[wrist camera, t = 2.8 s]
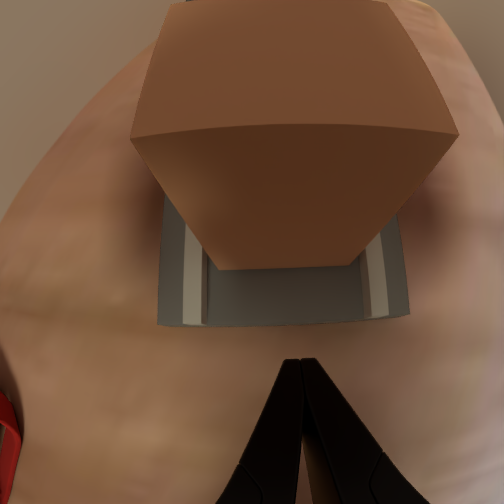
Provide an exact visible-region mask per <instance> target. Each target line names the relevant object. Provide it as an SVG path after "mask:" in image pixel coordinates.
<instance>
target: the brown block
mask: <svg viewBox="0 0 504 504" xmlns="http://www.w3.org/2000/svg"><path fill="white" fill-rule="evenodd" d="M458 136H459V133H458V130H457V128H456V125H455V123H454V121H453V118H452V116H451V114H450V112H449V109H448V107H447V105H446V103H445V101H444V99H443V97H442V94H441V92H440V90H439V88H438V86H437V84H436V82H435V81H434V79H433V77H432V75H431V73H430V71H429V69H428V67H427V66H426V64H425V62H424V60H423V59H422V57H421V55H420V53H419V52H418V50H417V48H416V47H415V45H414V43H413V42H412V40H411V38H410V37H409V35H408V34H407V32H406V31H405V29H404V28H403V26H402V25H401V23H400V22H399V20H398V19H397V17H396V16H395V14H394V13H393V11H392V10H391V9H390V7H389V6H388V4H387V3H384V2H378V1H372V0H194V1H187V2H182V3H176V4H171V5H170V8H169V10H168V13H167V15H166V18H165V21H164V23H163V26H162V29H161V31H160V34H159V37H158V40H157V43H156V46H155V49H154V52H153V55H152V58H151V61H150V64H149V67H148V70H147V74H146V77H145V80H144V84H143V87H142V91H141V95H140V98H139V102H138V106H137V110H136V114H135V118H134V122H133V126H132V130H131V134H130V140H131V141H132V143H133V145H134V146H135V148H136V149H137V151H138V152H139V154H140V155H141V157H142V158H143V160H144V161H145V163H146V164H147V166H148V168H149V169H150V171H151V172H152V174H153V175H154V177H155V178H156V180H157V181H158V183H159V184H160V186H161V187H162V189H163V190H164V192H165V193H166V195H167V196H168V198H169V199H170V200H171V202H172V203H173V205H174V206H175V208H176V209H177V211H178V212H179V214H180V215H181V217H182V218H183V220H184V221H185V222H186V224H187V225H188V227H189V228H190V230H191V231H192V233H193V234H194V235H195V237H196V238H197V240H198V241H199V243H200V244H201V246H202V247H203V248H204V250H205V251H206V253H207V254H208V256H209V257H210V258H211V260H212V261H213V263H214V264H215V265H216V267H217V268H218V270H246V269H274V268H301V267H325V266H347V265H350V264H351V263H352V261H353V260H354V259H355V258H356V257H357V256H358V255H359V254H360V253H361V252H362V251H363V250H364V249H365V247H366V246H367V245H368V244H369V243H370V242H371V241H372V240H373V239H374V238H375V236H376V235H377V234H378V233H379V232H380V231H381V230H382V229H383V228H384V226H385V225H386V224H387V223H388V222H389V221H390V220H391V218H392V217H393V216H394V215H395V214H396V213H397V212H398V210H399V209H400V208H401V207H402V206H403V205H404V203H405V202H406V201H407V200H408V199H409V198H410V196H411V195H412V194H413V193H414V192H415V190H416V189H417V188H418V187H419V186H420V184H421V183H422V182H423V181H424V180H425V178H426V177H427V176H428V175H429V173H430V172H431V171H432V170H433V168H434V167H435V166H436V165H437V163H438V162H439V161H440V160H441V158H442V157H443V156H444V154H445V153H446V152H447V151H448V149H449V148H450V147H451V145H452V144H453V143H454V142H455V140H456V139H457V138H458Z"/></svg>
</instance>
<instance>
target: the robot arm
mask: <svg viewBox="0 0 504 504" xmlns="http://www.w3.org/2000/svg"><path fill="white" fill-rule="evenodd" d="M301 443H303V448H304V454H305V460H306V465H307V471H308V477H309V483H310V488H311V494H312V500H313V504H430V503H429V502H428V501H427V500H426V499H425V498H424V497H423V496H422V495H421V494H420V493H419V492H418V491H417V490H416V489H415V488H414V487H413V486H412V485H411V484H410V483H409V482H408V481H407V480H406V479H405V477H404V476H403V475H402V474H401V473H400V471H399V470H398V469H397V468H396V466H395V465H394V464H393V463H392V461H391V460H390V459H389V457H388V456H387V455H386V453H385V452H383V449H382V448H381V447H380V445H379V444H378V443H377V441H376V440H375V439H374V437H373V436H372V434H371V433H370V432H369V430H368V429H367V428H366V426H365V425H364V424H363V422H362V421H361V420H360V418H359V417H358V415H357V414H356V413H355V411H354V410H353V409H352V407H351V406H350V404H349V403H348V402H347V400H346V399H345V398H344V396H343V395H342V394H341V392H340V391H339V389H338V388H337V387H336V385H335V384H334V383H333V381H332V380H331V378H330V377H329V376H328V374H327V373H326V371H325V370H324V369H323V367H322V366H321V365H320V363H319V362H318V360H317V359H315V358H302V359H301V360H299V359H285V360H284V361H283V363H282V366H281V368H280V371H279V373H278V376H277V378H276V380H275V383H274V385H273V387H272V390H271V392H270V395H269V397H268V399H267V401H266V404H265V406H264V408H263V411H262V413H261V415H260V417H259V420H258V422H257V424H256V426H255V429H254V431H253V433H252V435H251V437H250V439H249V442H248V444H247V446H246V448H245V450H244V452H243V454H242V456H241V459H240V461H239V464H238V465H237V466H236V469H235V471H234V473H233V475H232V477H231V478H230V480H229V482H228V484H227V486H226V488H225V489H224V491H223V493H222V494H221V496H220V497H219V499H218V500H217V502H216V503H215V504H295V500H296V492H297V483H298V474H299V464H300V454H301Z"/></svg>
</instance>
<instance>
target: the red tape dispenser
mask: <svg viewBox="0 0 504 504" xmlns="http://www.w3.org/2000/svg"><path fill="white" fill-rule="evenodd" d="M0 423H1V424H2V425H4V426H5V427H6V429H5V434H4V439H3V444H2V449H1V455H0V504H7V503H8V499H9V496H10V492H11V487H12V483H13V478H14V474H15V469H16V465H17V461H18V457H19V453H20V449H21V436H20V433H19V429H18V425H17V421H16V417H15V413H14V409H13V406H12V404H11V402H10V401H9V400H8V399H7V397H6V396H5V395H4V394H3V393H2V392H0Z"/></svg>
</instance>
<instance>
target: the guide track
mask: <svg viewBox="0 0 504 504" xmlns="http://www.w3.org/2000/svg"><path fill="white" fill-rule="evenodd" d="M187 1H194V0H186V2H187ZM409 314H410V310H409V299H408V289H407V280H406V271H405V263H404V256H403V249H402V243H401V236H400V230H399V225H398V219H397V214H395V215H394V216H393V217H392V218H391V220H390V221H389V222H388V223H387V224H386V225H385V226H384V228H383V229H382V230H381V231H380V232H379V233H378V234H377V235H376V236H375V238H374V239H373V240H372V241H371V242H370V243H369V244H368V245H367V246H366V247H365V249H364V250H363V251H362V252H361V253H360V254H359V255H358V256H357V257H356V258H355V259H354V260H353V261H352V263H351V264H350V265H347V266H325V267H301V268H274V269H246V270H218V268H217V267H216V265H215V264H214V263H213V261H212V260H211V258H210V257H209V256H208V254H207V253H206V251H205V250H204V248H203V247H202V246H201V244H200V243H199V241H198V240H197V238H196V237H195V235H194V234H193V233H192V231H191V230H190V228H189V227H188V225H187V224H186V222H185V221H184V220H183V218H182V217H181V215H180V214H179V212H178V211H177V209H176V208H175V206H174V205H173V203H172V202H171V200H170V199H169V198H168V196H167V195H166V193H165V199H164V209H163V220H162V233H161V247H160V264H159V285H158V320H157V324H158V325H163V326H173V327H248V326H281V325H303V324H321V323H336V322H350V321H362V320H374V319H384V318H394V317H401V316H405V315H409Z"/></svg>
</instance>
